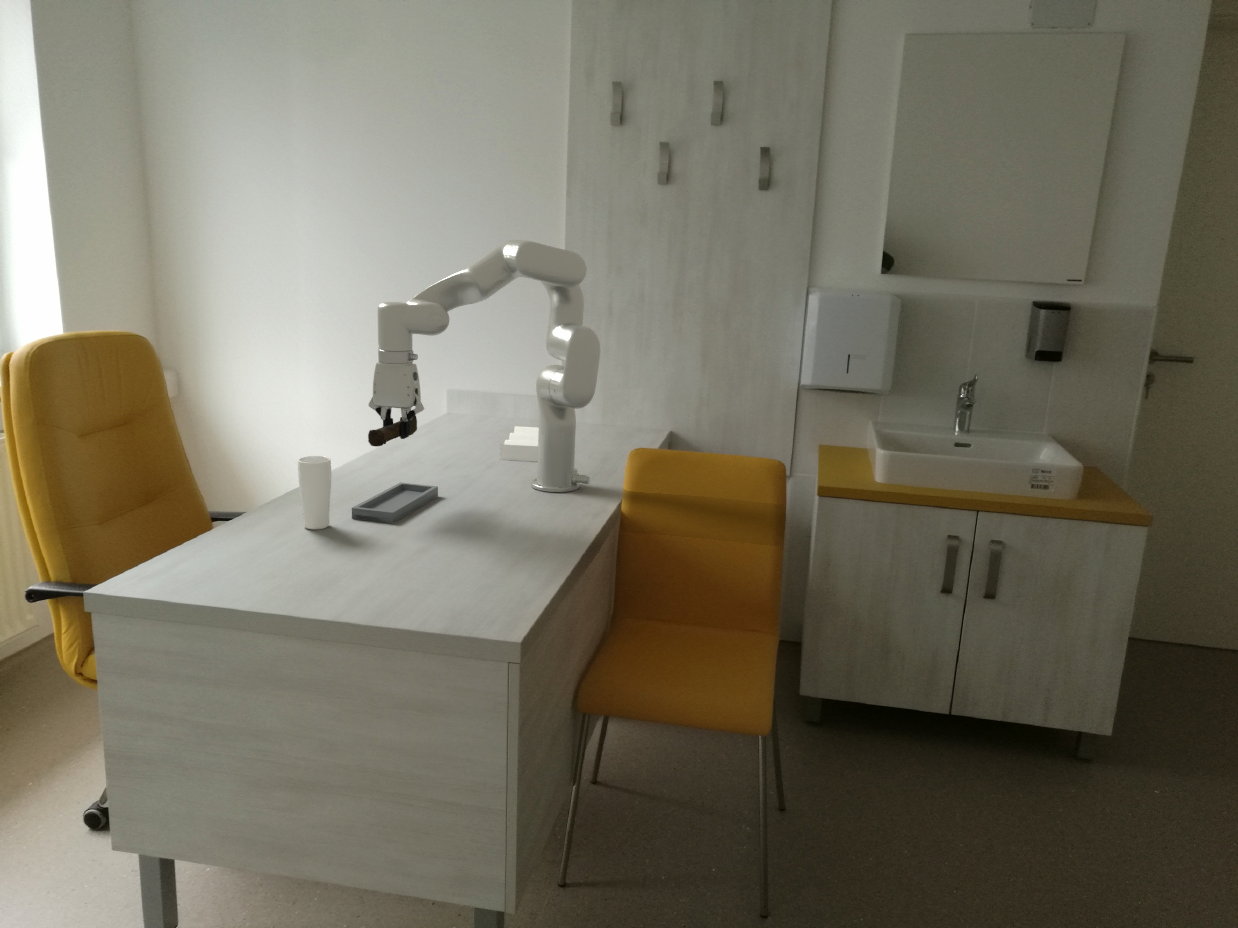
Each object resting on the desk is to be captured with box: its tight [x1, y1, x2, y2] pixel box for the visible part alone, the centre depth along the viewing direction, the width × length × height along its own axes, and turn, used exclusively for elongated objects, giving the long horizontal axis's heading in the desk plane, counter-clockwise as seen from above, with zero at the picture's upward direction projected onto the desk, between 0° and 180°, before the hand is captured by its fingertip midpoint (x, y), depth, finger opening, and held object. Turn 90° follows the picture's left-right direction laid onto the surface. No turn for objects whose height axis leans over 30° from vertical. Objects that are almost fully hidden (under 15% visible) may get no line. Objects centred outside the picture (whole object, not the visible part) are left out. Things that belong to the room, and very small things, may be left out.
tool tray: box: [351, 481, 439, 524], centre depth 220 cm, size 10×24×2 cm, turn 167°
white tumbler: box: [297, 455, 332, 531], centre depth 201 cm, size 7×7×15 cm
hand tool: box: [367, 414, 418, 447], centre depth 215 cm, size 19×4×5 cm, turn 161°
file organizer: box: [499, 425, 539, 463], centre depth 287 cm, size 13×35×5 cm, turn 178°
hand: (396, 436), depth 216 cm, fingers closed on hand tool, 3 cm apart
